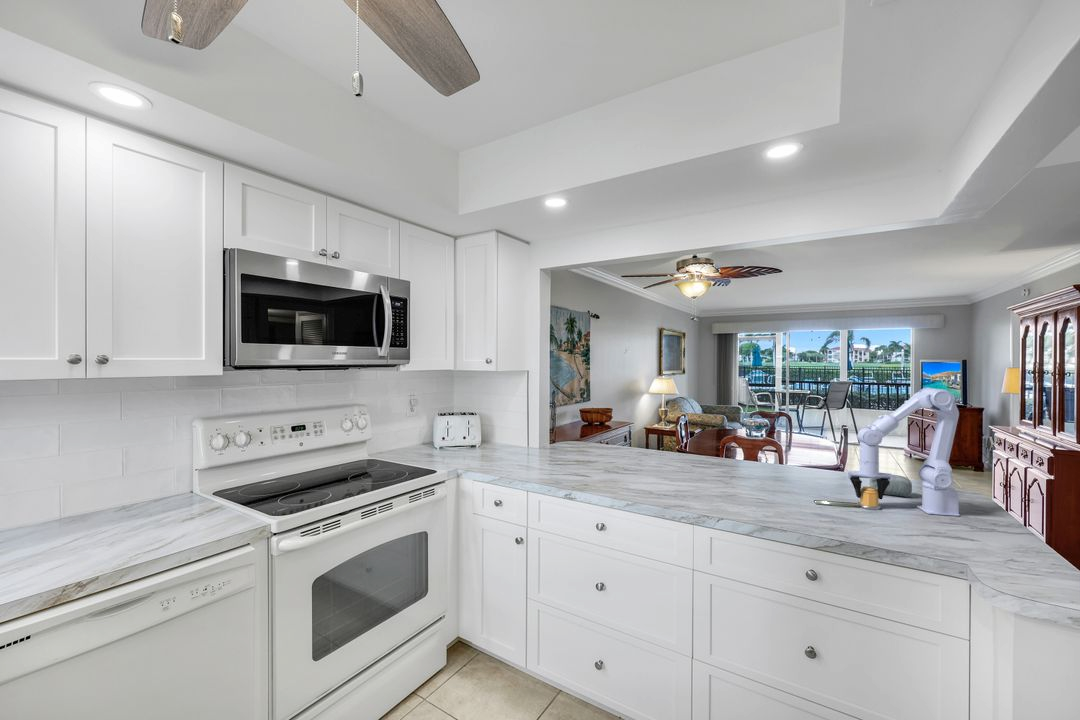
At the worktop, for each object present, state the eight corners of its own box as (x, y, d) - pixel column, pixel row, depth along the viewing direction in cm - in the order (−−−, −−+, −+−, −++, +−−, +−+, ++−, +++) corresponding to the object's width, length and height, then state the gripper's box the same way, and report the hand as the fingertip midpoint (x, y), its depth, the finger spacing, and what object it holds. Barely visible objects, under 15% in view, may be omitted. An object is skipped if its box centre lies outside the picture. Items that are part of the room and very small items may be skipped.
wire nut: (874, 502, 172) (874, 486, 171) (880, 507, 167) (880, 490, 167) (858, 501, 173) (858, 485, 173) (864, 505, 168) (864, 489, 168)
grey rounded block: (867, 487, 184) (874, 464, 186) (865, 492, 191) (872, 470, 193) (909, 501, 175) (917, 477, 177) (906, 506, 183) (913, 483, 185)
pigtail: (875, 504, 172) (875, 492, 172) (884, 510, 165) (884, 498, 165) (811, 500, 178) (811, 488, 178) (817, 506, 171) (817, 494, 171)
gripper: (886, 459, 171) (886, 496, 172) (842, 457, 175) (842, 493, 175) (896, 464, 165) (896, 501, 165) (849, 462, 168) (849, 498, 169)
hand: (869, 497), depth 170 cm, fingers open, 6 cm apart
